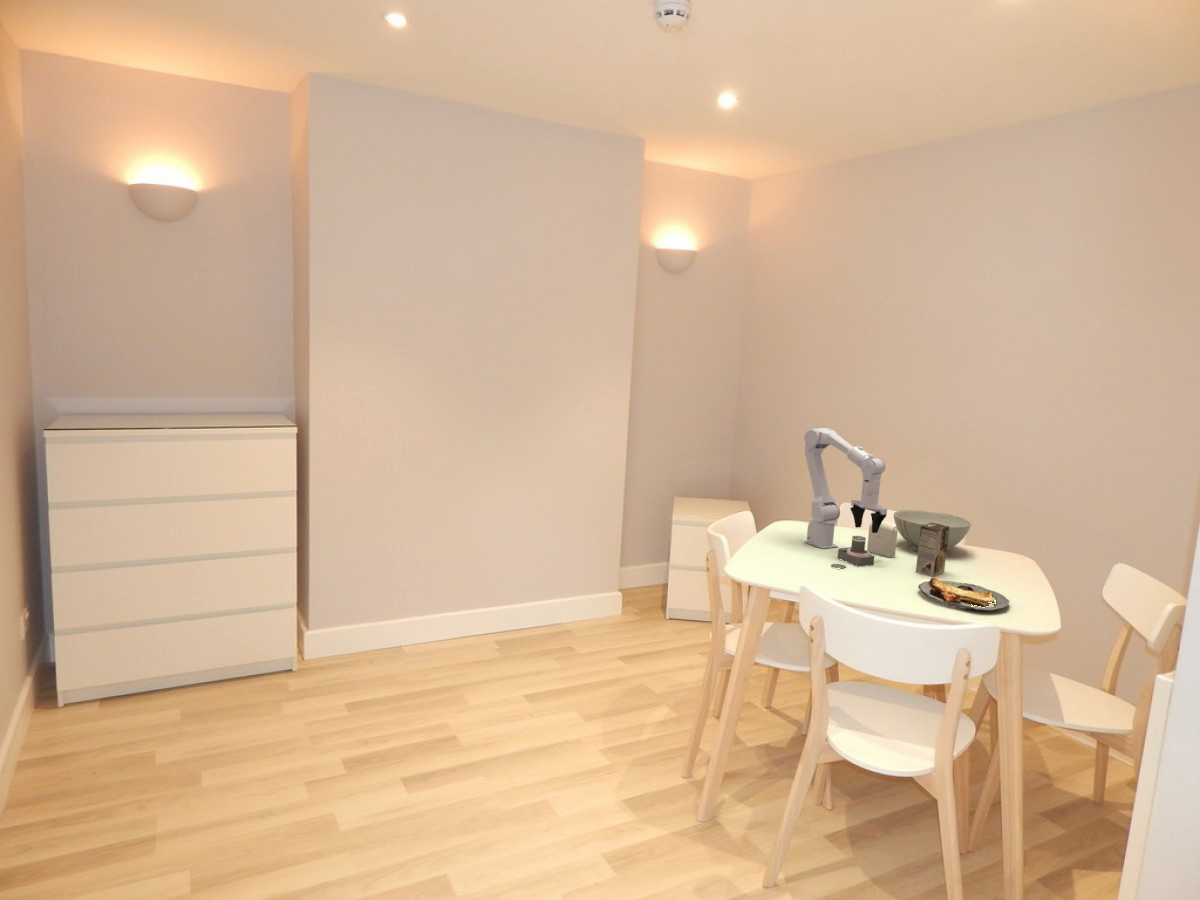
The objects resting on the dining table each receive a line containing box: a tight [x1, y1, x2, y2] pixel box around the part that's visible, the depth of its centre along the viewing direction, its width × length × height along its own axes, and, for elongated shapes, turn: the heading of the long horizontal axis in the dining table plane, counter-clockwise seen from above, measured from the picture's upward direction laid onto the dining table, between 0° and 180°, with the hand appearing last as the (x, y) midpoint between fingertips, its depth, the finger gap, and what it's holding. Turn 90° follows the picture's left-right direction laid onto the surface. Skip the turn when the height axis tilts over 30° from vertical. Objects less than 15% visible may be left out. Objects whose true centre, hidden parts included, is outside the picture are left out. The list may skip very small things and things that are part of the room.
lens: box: [850, 535, 867, 554], centre depth 268 cm, size 4×4×6 cm
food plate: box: [917, 577, 1010, 611], centre depth 235 cm, size 25×23×4 cm
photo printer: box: [866, 520, 899, 558], centre depth 280 cm, size 10×4×12 cm, turn 39°
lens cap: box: [830, 563, 847, 570], centre depth 262 cm, size 5×5×1 cm
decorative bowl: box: [893, 509, 972, 551], centre depth 291 cm, size 27×27×12 cm
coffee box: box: [915, 523, 949, 578], centre depth 261 cm, size 9×6×16 cm
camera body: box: [836, 546, 875, 567], centre depth 270 cm, size 10×8×4 cm
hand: (866, 529), depth 273 cm, fingers open, 7 cm apart
